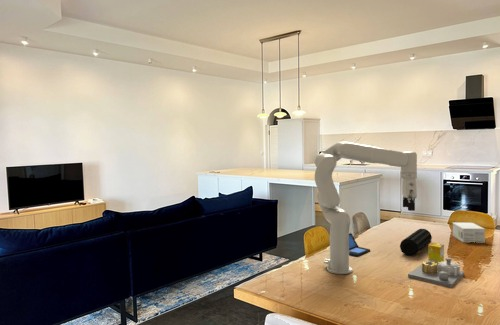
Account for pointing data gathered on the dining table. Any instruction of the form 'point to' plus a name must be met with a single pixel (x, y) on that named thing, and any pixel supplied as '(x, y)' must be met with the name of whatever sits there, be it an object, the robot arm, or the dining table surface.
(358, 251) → the handheld game console
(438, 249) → the supplement box
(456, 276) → the gear board
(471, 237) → the supplement box
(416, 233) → the roller
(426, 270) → the brass gear
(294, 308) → the dining table surface
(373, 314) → the dining table surface
